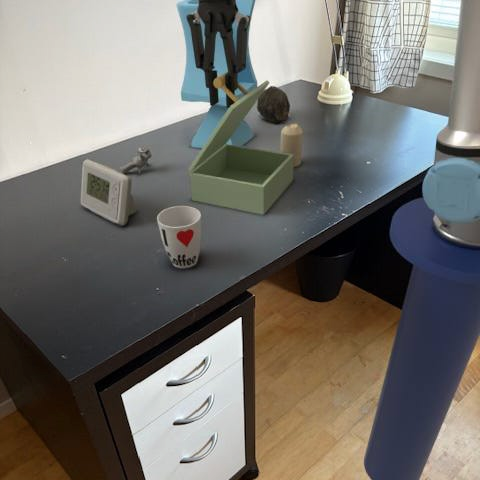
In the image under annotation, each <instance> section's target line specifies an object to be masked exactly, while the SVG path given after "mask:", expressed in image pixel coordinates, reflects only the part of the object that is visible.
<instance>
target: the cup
mask: <svg viewBox="0 0 480 480" xmlns="http://www.w3.org/2000/svg"><path fill="white" fill-rule="evenodd" d="M156 221H157V225H158V229H159V234H160V238H161V241H162V243H163V246H164V249H165V252H166V254H167V257H168V259H169V260H170V262H171V264H172V265H173V266H174V267H175V268H178V269H190V268H192V267H194V266H196V265H197V263H198V260H199V256H200V252H201V244H202V215H201V211H200V210H199V209H197V208H195V207H193V206H189V205H188V206H187V205H176V206H171V207H168V208H165V209H163V210H161V211H160V212H159V213H158V214H157V217H156Z"/></svg>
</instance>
